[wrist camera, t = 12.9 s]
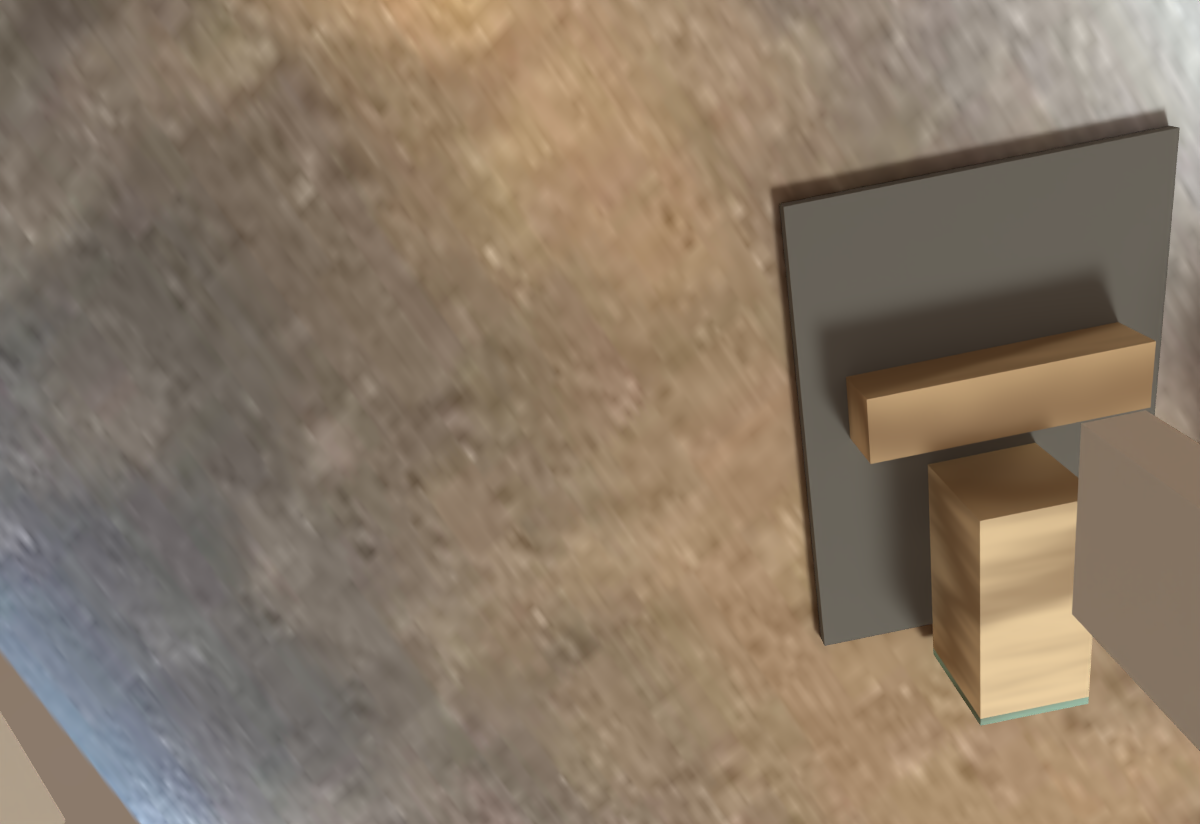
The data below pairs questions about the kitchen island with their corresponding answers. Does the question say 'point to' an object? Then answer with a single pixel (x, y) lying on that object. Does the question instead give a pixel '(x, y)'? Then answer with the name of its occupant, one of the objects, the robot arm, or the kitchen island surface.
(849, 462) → the mat
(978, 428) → the bar
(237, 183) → the kitchen island surface
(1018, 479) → the block
